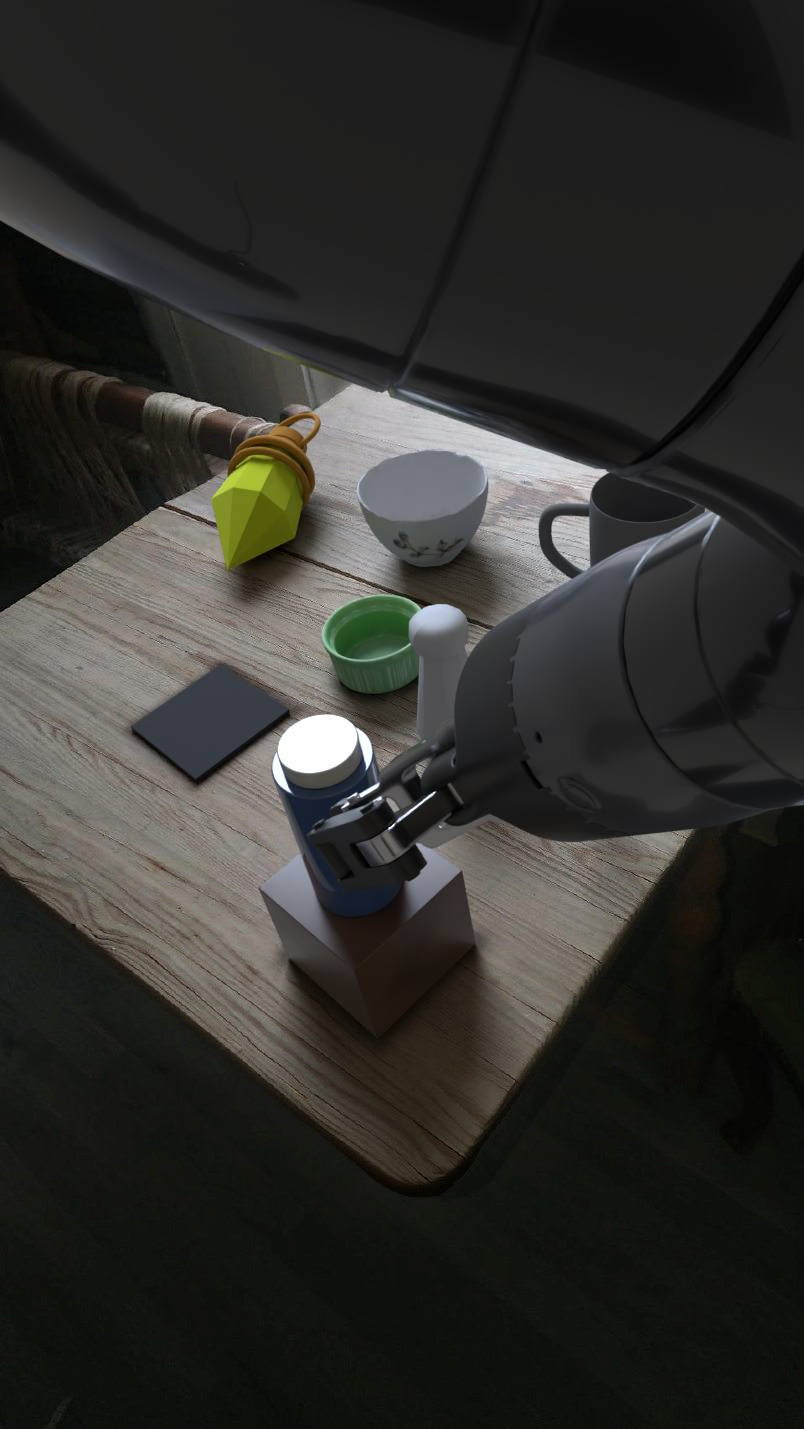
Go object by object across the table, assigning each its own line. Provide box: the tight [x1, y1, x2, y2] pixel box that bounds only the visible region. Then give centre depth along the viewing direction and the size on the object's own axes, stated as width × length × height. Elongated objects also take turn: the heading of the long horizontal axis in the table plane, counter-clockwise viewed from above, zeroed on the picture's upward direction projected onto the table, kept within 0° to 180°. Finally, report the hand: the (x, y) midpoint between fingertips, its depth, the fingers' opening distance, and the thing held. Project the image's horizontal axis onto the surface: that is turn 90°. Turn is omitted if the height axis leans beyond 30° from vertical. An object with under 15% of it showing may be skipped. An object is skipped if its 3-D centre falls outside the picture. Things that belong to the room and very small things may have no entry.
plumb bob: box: [210, 412, 322, 571], centre depth 102 cm, size 9×9×25 cm
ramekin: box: [321, 594, 422, 695], centre depth 84 cm, size 9×9×4 cm
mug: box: [538, 472, 706, 580], centre depth 82 cm, size 14×9×12 cm
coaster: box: [130, 663, 291, 783], centre depth 84 cm, size 10×10×1 cm
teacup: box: [356, 448, 489, 568], centre depth 95 cm, size 15×12×8 cm
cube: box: [257, 843, 477, 1040], centre depth 62 cm, size 9×9×8 cm
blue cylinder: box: [270, 713, 403, 917], centre depth 55 cm, size 6×6×12 cm
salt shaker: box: [409, 603, 470, 756], centre depth 73 cm, size 6×6×13 cm
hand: (424, 770), depth 42 cm, fingers open, 8 cm apart
